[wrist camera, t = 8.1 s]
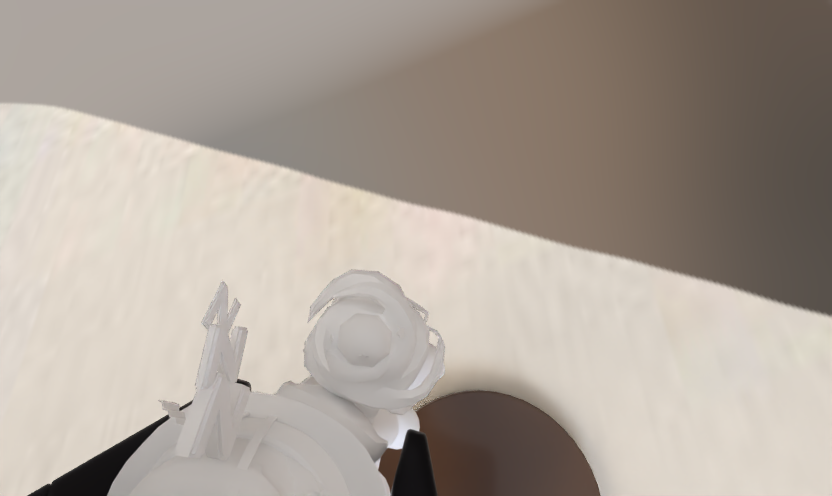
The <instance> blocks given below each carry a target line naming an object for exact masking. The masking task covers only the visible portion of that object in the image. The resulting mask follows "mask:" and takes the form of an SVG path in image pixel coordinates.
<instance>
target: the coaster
mask: <svg viewBox="0 0 832 496" xmlns="http://www.w3.org/2000/svg"><path fill="white" fill-rule="evenodd" d="M415 412H416V414H417V416H418V418H419V424H420V428H419V431H420V432H423V433H425V434H426V436H427V440H428V446H429V451H430V456H431V462H432V467H433V472H434V478H435V483H436V488H437V493H438V496H600V492H599V488H598V485H597V482H596V480H595V477H594V475H593V472H592V470H591V468H590V466H589V464H588V462H587V460H586V458H585V457H584V455H583V453H582V452H581V450H580V449H579V447H578V446H577V444H576V443H575V441H574V440H573V439H572V438H571V437H570V435H569V434H568V433H567V432H566V431H565V430H564V429H563V427H561V426H560V425H559V424H558V423H557V422H556V421H555V420H554V419H552V418H551V417H550V416H549V415H547V414H546V413H544V412H543V411H542V410H540V409H539V408H537V407H535V406H533V405H532V404H530V403H528V402H526V401H524V400H521V399H519V398H516V397H513V396H510V395H506V394H502V393H498V392H492V391H480V390H477V391H463V392H458V393H453V394H449V395H446V396H443V397H440V398H437V399H435V400H433V401H431V402H429V403H428V404H426V405H424V406H422V407H421V408H420V409H418V410H417V411H415ZM401 451H402V449H397V450H396V449H391V448H387V449H386V451H385V452H384V453H383V455H382V456H381V458H380V464H379V468H378V471H379V472H380V473H381V474H382V475H383V476H384V477H385V479H386V481H387V483H388V486H389V488H390V494H391V490H392V486H393V482H394V478H395V474H396V470H397V466H398V462H399V459H400V455H401Z"/></svg>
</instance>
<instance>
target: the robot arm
mask: <svg viewBox="0 0 832 496" xmlns="http://www.w3.org/2000/svg"><path fill="white" fill-rule="evenodd" d="M235 383H239V384H243V385H245V386H247V387H249V388H250V391H251V385H250V383H249V382H247V381H244V380H240V379H237V382H235ZM192 402H193V400H192V401H191V402H189V403H187V404H186V405H184V406H182V407H180V408H179V411H181V410H183V409H184V408H186V407H188V406H189V405H191V404H192ZM168 419H170V417H169V414H168V415H166V416H165V417H163V418H161V419H160V420H158V421H156V422H154V423H153V424H151V425H149V426H147V427H146V428H144V429H142V430H140V431H139V432H137V433H135V434H134V435H132V436H130V437H128V438H127V439H125V440H123V441H121V442H120V443H118V444H116V445H115V446H113V447H111V448H109V449H108V450H106V451H104V452H102V453H101V454H99V455H97V456H95V457H94V458H92V459H90V460H89V461H87V462H85V463H83V464H82V465H80V466H78V467H76V468H75V469H73V470H71V471H69V472H68V473H66V474H64V475H63V476H61V477H59V478H57V479H56V480H54V481H53V482H52V484H47V485H45V486H43V487H41V488H40V489H38V490H36V491H35V492H33V493H31V494H29V495H28V496H107V495H108V492H109V490H110V487H111V485H112V483H113V481H114V480H115V478H116V477H117V475H118V474H119V472H120V471H121V469H122V467H123V466H124V464H125V463H126V462H127V460H128V459H129V458H130V457H131V456H132V455H133V454H134V452H135V451H136V450H137V449H138V448H139V447H140V446H141V445H142V443H143V442H144V441H145V440H146V439H147V438H148V437H149V436H150V435H151V434H152V433H153V432H154V431H155V430H156V429H157V428H158V427H159V426H160V425H162V424H163V423H164V422H166V421H167V420H168ZM390 496H438V493H437V488H436V483H435V478H434V472H433V467H432V462H431V456H430V451H429V446H428V440H427V436H426V434H425V433H423V432H420V431H416V430H413V429H409V430H407V432H406V436H405V440H404V444H403V447H402V451H401V455H400V459H399V462H398V466H397V470H396V474H395V478H394V482H393V486H392V490H391V494H390Z"/></svg>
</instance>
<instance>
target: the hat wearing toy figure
mask: <svg viewBox="0 0 832 496" xmlns="http://www.w3.org/2000/svg"><path fill="white" fill-rule="evenodd" d="M333 298H335V299H334V301H333V302H332V304H331V306H329V307H327V309H326V310H325V311H324V313H323V314H322V316H321V317H320V319H319V320H318V321H317V323H316V325H315V326H314V328H313V330H312V332H311V333H310V335H309V337H308V338H307V340H306V341H305V348H304V350H303V351H304V353H305V355H304V366H305V367H306V369H307V370H308V371H309V372H310V374H311V376H309V377H308V378H306V379H305V380H304V381H302V382H301V383H300V384H295V383H294V382H292V381H288V382H286V383H284V384H282V386H281V387H280V388H279V390H278V391H277V393H276V394H274V395H272V394H267V393H261V392H251V391H250V388H249V387H247V386H245V385H243V384H239V383H235V382H237V378H238V374H239V369H240V365H241V360H242V356H243V351H244V347H245V342H246V338H247V333H248V331H247V328H245V327H236V326H235V328H234V329H233V330H232V334H231V338H230V340H229V336H228V333H229V331H230V328H231V326H232V324H233V322H234V319H235V317H236V315H237V312H238V310H239V308H240V306H241V304H240V303H239V302H238V300H237V299H236V298H235V299H234V302H233V304H232V306H231V308H230V310H229V313H228V288H227V285H226V284H225V282H224V281H223V280H222V281H221V283H220V286H219V288H218V290H217V292H216V294H215V296H214V298H213V300H212V302H211V304H210V306H209V308H208V310H207V312H206V314H205V316H204V318H203V320H202V322H201V323H202V324H203V325H204V326H205V327H206V328H207V329H208V333H207V337H206V341H205V346H204V350H203V354H202V358H201V362H200V366H199V370H198V374H197V379H196V383H195V386H196V389H197V391H196V394H195V396H194V399H193V402H192V404H191V405H189V406H188V407H186V408H184V409H183V410H181V411H179V404H176V403H173V402H168V401H162V400H158V401H160V402H162V406H163V410H166V411H168V414H169V417H170V419H168V420H167V421H166V422H164V423H163V424H162V425H160V426H159V427H158V428H157V429H156V430H155V431H154V432H153V433H152V434H151V435H150V436H149V437H148V438H147V439H146V440H145V441H144V442H143V443H142V445H141V446H140V447H139V448H138V449H137V450H136V451H135V452H134V454H133V455H132V456H131V457H130V458H129V459H128V460H127V462H126V463H125V464H124V466H123V467H122V469H121V471H120V472H119V474H118V475H117V477H116V478H115V480H114V481H113V483H112V485H111V487H110V490H109V492H108V495H107V496H390V488H389V486H388V483H387V481H386V479H385V477H384V476H383V475H382V474H381V473H380V472H379V471H378V468H379V464H380V458H381V456H382V455H383V453H384V452H385V451H386V449H387V448H391V449H396V450H397V449H402V447H403V444H404V440H405V436H406V432H407V430H409V429H413V430H416V431H419V428H420V424H419V418H418V416H417V414H416V412H415V411H414V410H413V408H412V407H413V406H414V405H415V404H416V403H417V402H418V401H420V400H422V399H424V398H425V397H427V396H428V394H429V393H430V391H431V390H432V388H433V387H434V385H435V384H436V382H437V381H438V379H440V378H441V377H442V376H443V375H444V374H445V369H444V352H445V346H444V342H443V339H442V337H441V335H440V334H439V333H438V331H437V330H435V329H433V328H431V327H429V326H427V325H426V322H427V319H428V315H429V313H428V311H426V310H425V309H424V308H423V307H421V306H420V305H418V304H417V303H415V302H414V301H412V300H410V299H409V298H407V297H406V296H405V295H404V293H403V291H402V289H401V287H400V286H399V285H398V284H396V283H395V282H393V281H392V280H390V279H389V278H387V277H386V276H384V275H383V274H381V273H380V272H378V271H365V270H352V269H351V270H349V271H348V272H346V273H344V274H342V275H340V276H339V277H337V278H335V279H333V280H332V281H331V282H330V283H329V285H328V286H327V287H326V288H325V289H324V290H323V291H322V292H321V294H320V295H319V296H318V297H317V299H316V300H315V301H314V303H313V304H312V305H311V306H310V312H309V318H308V322H309V321H310V320H311V319H312V318H313V317H314V316H315V315H316V314H317V313H318V312H319V311H320V310H321V309H322V308H323V307H324V306H325V305H326V304H327V303H328V302H329V301H330V300H332V299H333ZM414 308H415V309H417V310H419V311H421V312H422V313H424V314H425V317H424V320H423V318H422V317H421V315H420V313H419V312H418V311H416V310H415V309H414ZM216 313H217V325H216V324H212V322H213V320H214V317H215V315H216ZM210 326H211V327H210ZM429 331H432V332H434V333H435V334H436V335H437V337H438V344H437V348H436V347H435V346H434V345H432V344H430V343H429ZM217 371H218V372H217Z"/></svg>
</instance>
